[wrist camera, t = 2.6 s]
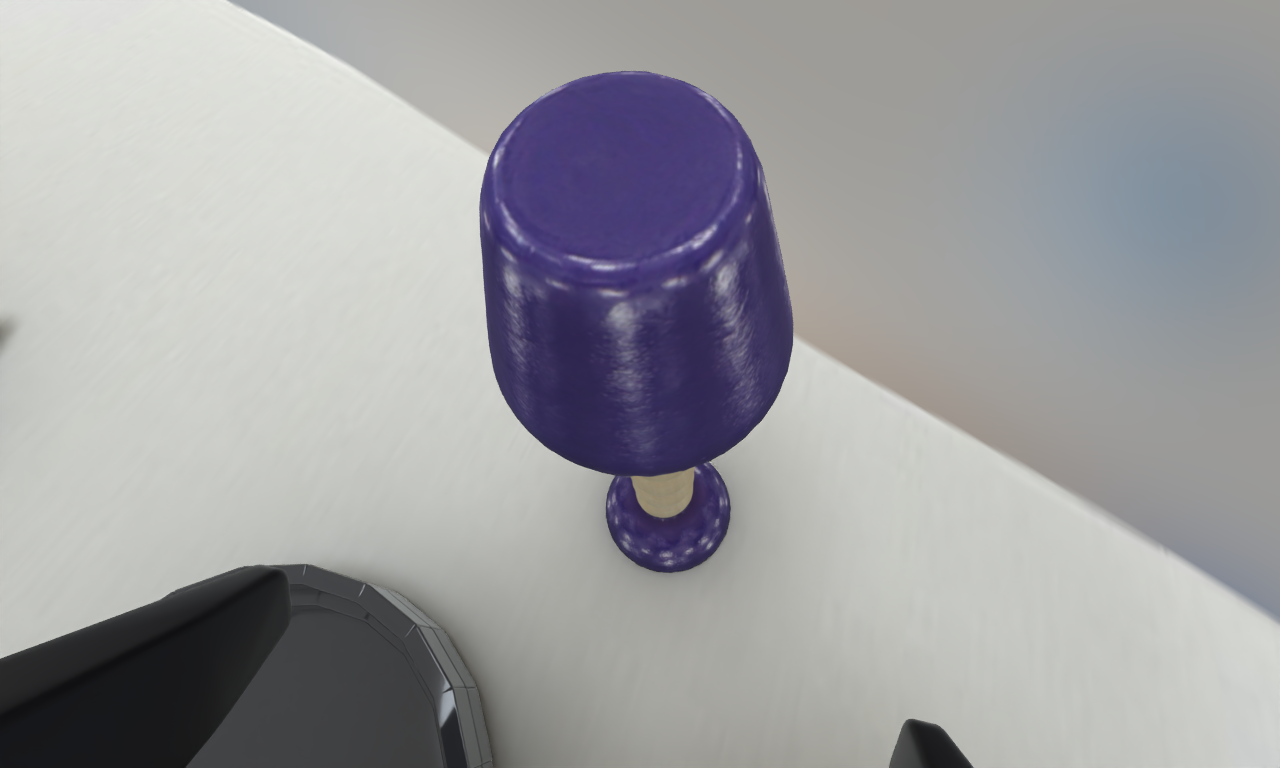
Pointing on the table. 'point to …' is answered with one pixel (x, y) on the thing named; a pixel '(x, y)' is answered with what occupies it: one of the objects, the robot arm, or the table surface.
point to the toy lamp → (636, 297)
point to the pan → (352, 687)
